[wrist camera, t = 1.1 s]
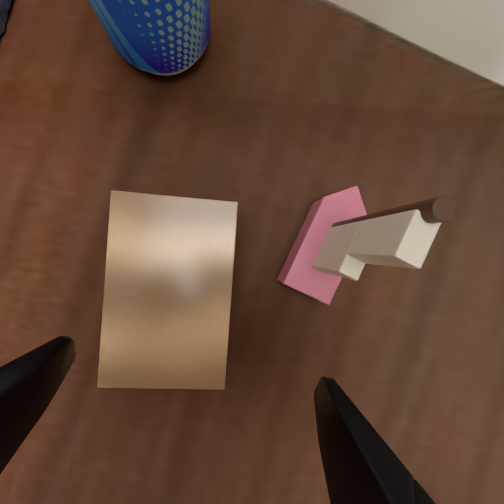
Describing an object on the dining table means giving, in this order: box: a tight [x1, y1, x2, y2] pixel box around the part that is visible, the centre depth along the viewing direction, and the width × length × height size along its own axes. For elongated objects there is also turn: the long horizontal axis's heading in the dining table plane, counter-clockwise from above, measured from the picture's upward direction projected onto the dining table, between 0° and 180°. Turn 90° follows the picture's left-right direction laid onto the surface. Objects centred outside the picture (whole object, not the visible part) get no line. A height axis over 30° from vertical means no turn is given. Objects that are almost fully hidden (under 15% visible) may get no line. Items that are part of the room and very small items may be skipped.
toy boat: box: [277, 186, 456, 305], centre depth 17 cm, size 10×4×13 cm, turn 154°
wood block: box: [97, 190, 238, 390], centre depth 20 cm, size 14×9×4 cm, turn 176°
